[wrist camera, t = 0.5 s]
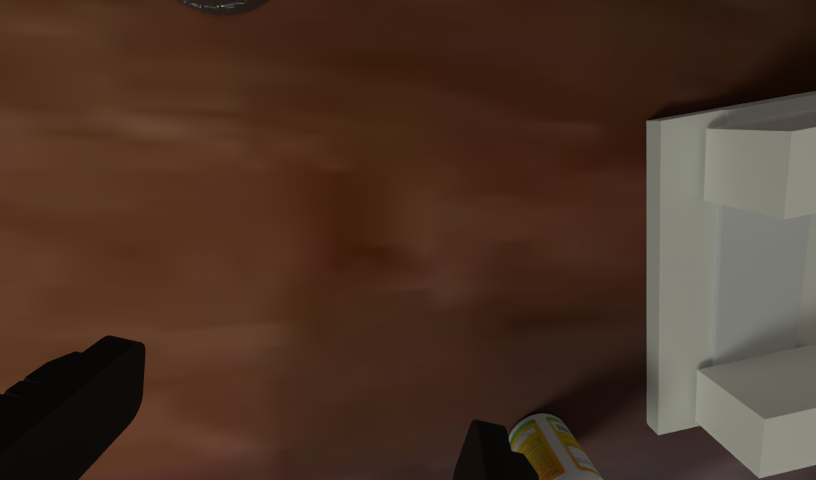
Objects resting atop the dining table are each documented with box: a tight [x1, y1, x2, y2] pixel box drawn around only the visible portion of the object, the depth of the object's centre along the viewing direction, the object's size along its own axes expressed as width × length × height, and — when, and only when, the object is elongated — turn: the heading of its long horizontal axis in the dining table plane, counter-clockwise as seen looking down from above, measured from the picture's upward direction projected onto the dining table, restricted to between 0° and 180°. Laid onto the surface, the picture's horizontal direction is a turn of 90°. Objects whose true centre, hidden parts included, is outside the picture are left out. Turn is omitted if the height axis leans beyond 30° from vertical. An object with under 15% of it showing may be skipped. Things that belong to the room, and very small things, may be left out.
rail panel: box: [647, 91, 816, 478], centre depth 31 cm, size 26×16×8 cm, turn 9°
